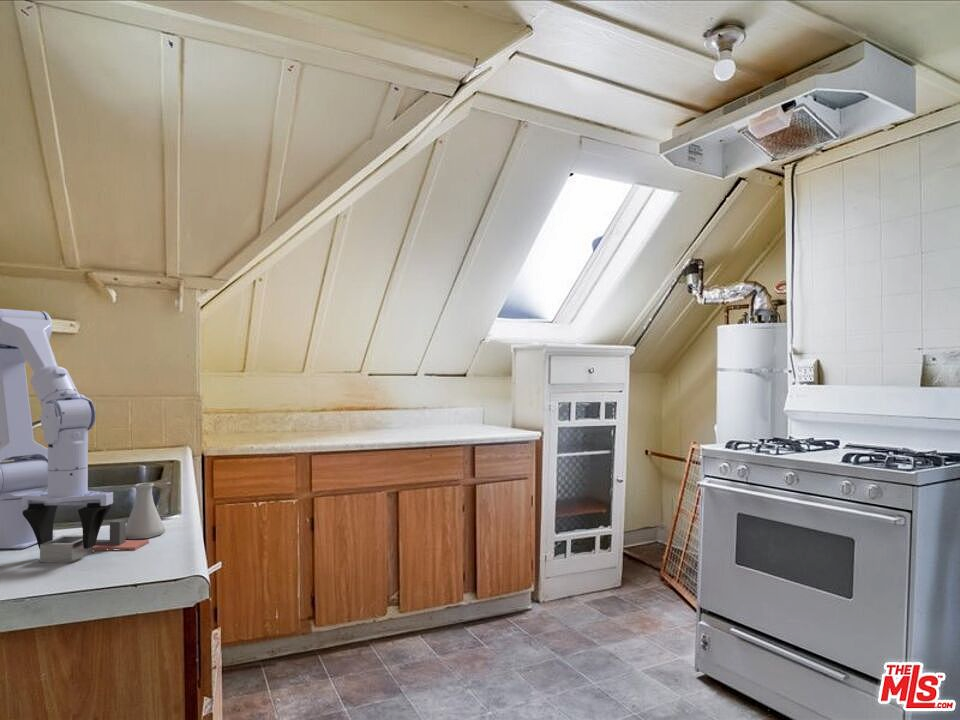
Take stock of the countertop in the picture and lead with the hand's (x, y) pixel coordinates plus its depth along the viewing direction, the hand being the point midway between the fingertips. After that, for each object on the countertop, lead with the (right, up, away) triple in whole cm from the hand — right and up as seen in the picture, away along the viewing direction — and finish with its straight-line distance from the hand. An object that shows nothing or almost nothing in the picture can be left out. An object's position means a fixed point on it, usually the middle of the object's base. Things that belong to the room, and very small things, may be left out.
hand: (67, 547), depth 101 cm
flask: (+5, -2, +14) cm, 15 cm away
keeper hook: (+5, -2, +6) cm, 8 cm away
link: (0, -2, 0) cm, 2 cm away
